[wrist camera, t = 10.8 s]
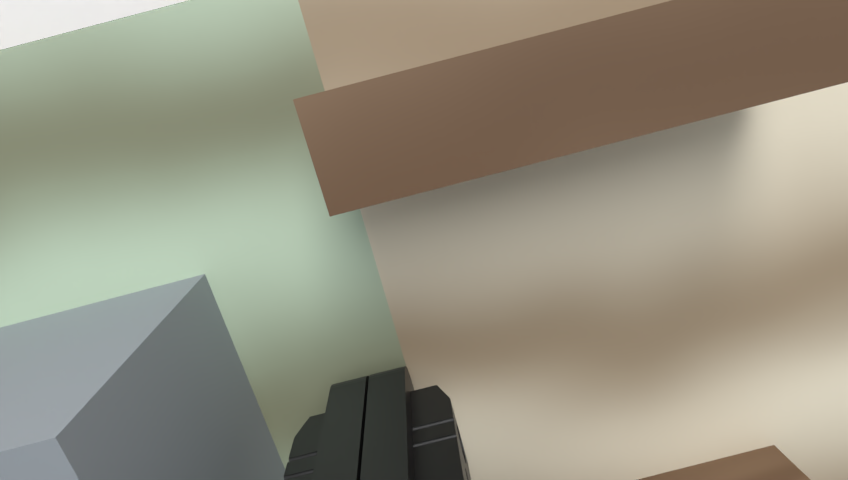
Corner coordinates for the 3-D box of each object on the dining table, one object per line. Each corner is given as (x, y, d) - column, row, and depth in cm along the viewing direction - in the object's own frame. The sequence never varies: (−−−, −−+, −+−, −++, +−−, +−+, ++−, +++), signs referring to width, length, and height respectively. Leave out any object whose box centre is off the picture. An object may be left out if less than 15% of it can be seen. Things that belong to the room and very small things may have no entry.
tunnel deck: (-324, 165, 12) (-1074, 260, 6) (1182, -231, 12) (2069, -572, 6) (12, 648, 17) (-204, 979, 11) (1083, 376, 17) (1497, 555, 10)
